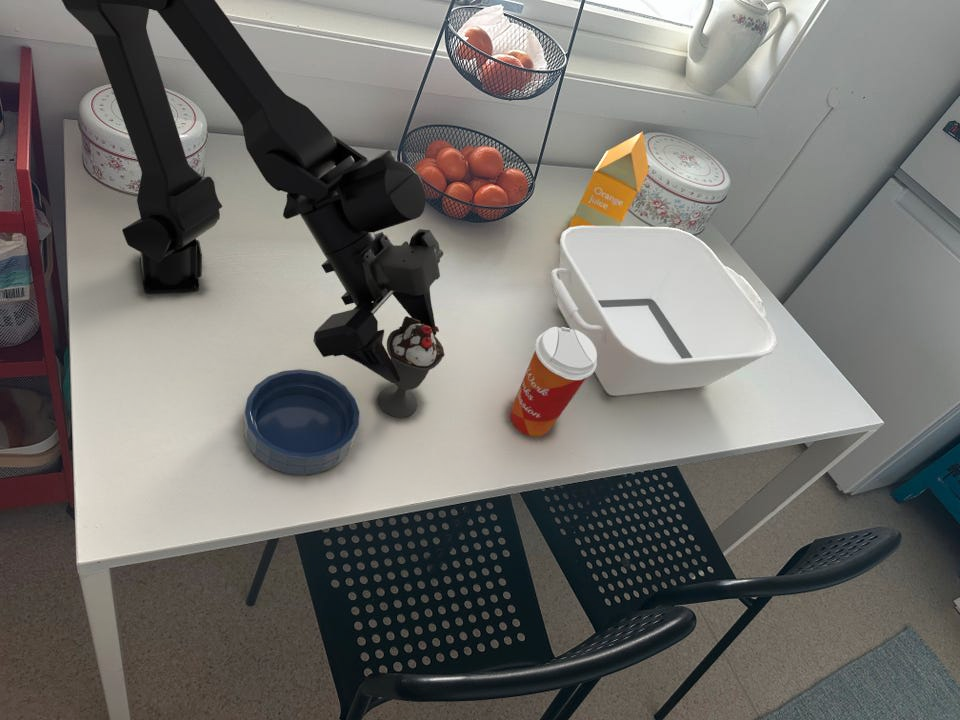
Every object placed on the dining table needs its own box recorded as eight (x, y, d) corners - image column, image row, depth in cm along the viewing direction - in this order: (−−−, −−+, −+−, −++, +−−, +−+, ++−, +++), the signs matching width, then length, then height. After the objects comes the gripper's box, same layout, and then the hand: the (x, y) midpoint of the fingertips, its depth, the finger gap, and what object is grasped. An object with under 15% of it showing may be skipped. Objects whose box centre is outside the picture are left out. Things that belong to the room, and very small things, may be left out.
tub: (673, 285, 123) (711, 227, 114) (759, 408, 107) (811, 351, 98) (498, 290, 108) (526, 223, 99) (569, 432, 93) (609, 368, 84)
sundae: (417, 430, 86) (448, 346, 75) (364, 412, 85) (388, 325, 75) (430, 392, 90) (461, 308, 80) (380, 374, 90) (404, 288, 80)
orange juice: (560, 242, 122) (607, 140, 108) (574, 219, 128) (621, 119, 114) (601, 263, 121) (654, 162, 107) (613, 238, 127) (665, 140, 113)
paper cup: (499, 393, 94) (534, 318, 84) (553, 399, 96) (594, 327, 86) (505, 441, 89) (544, 367, 79) (562, 447, 91) (607, 376, 81)
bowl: (254, 486, 75) (256, 466, 72) (235, 396, 82) (236, 375, 79) (366, 467, 80) (371, 448, 78) (339, 385, 87) (343, 364, 84)
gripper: (356, 267, 64) (435, 401, 71) (444, 183, 78) (503, 302, 84) (276, 291, 71) (354, 412, 77) (369, 209, 84) (430, 318, 90)
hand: (415, 358), depth 82 cm, fingers open, 9 cm apart
